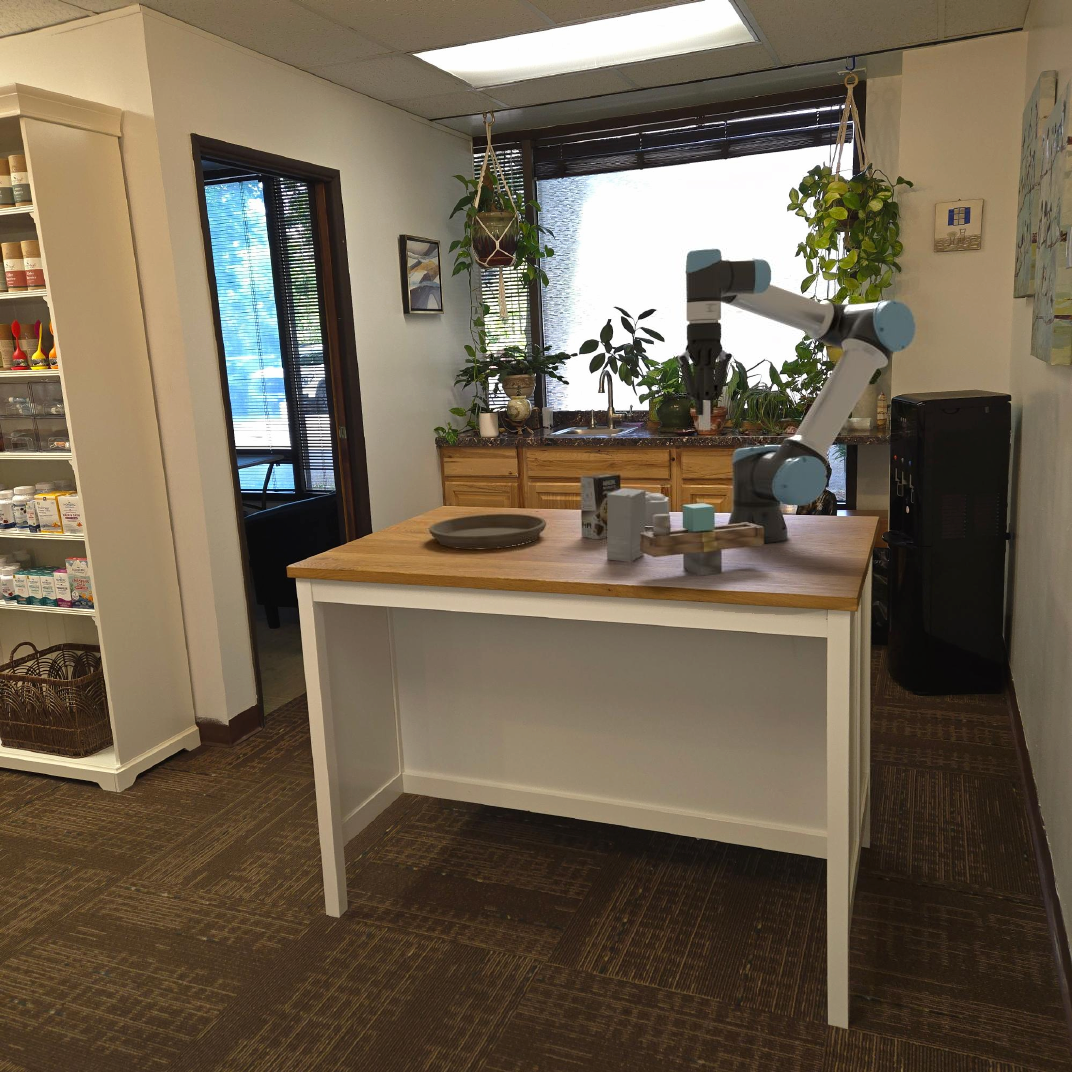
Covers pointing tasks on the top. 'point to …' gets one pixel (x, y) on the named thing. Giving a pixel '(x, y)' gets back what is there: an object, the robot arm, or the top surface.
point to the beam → (699, 543)
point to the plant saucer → (488, 530)
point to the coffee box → (596, 503)
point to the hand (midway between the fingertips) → (704, 429)
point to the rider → (698, 517)
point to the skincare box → (625, 524)
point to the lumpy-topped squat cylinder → (655, 506)
